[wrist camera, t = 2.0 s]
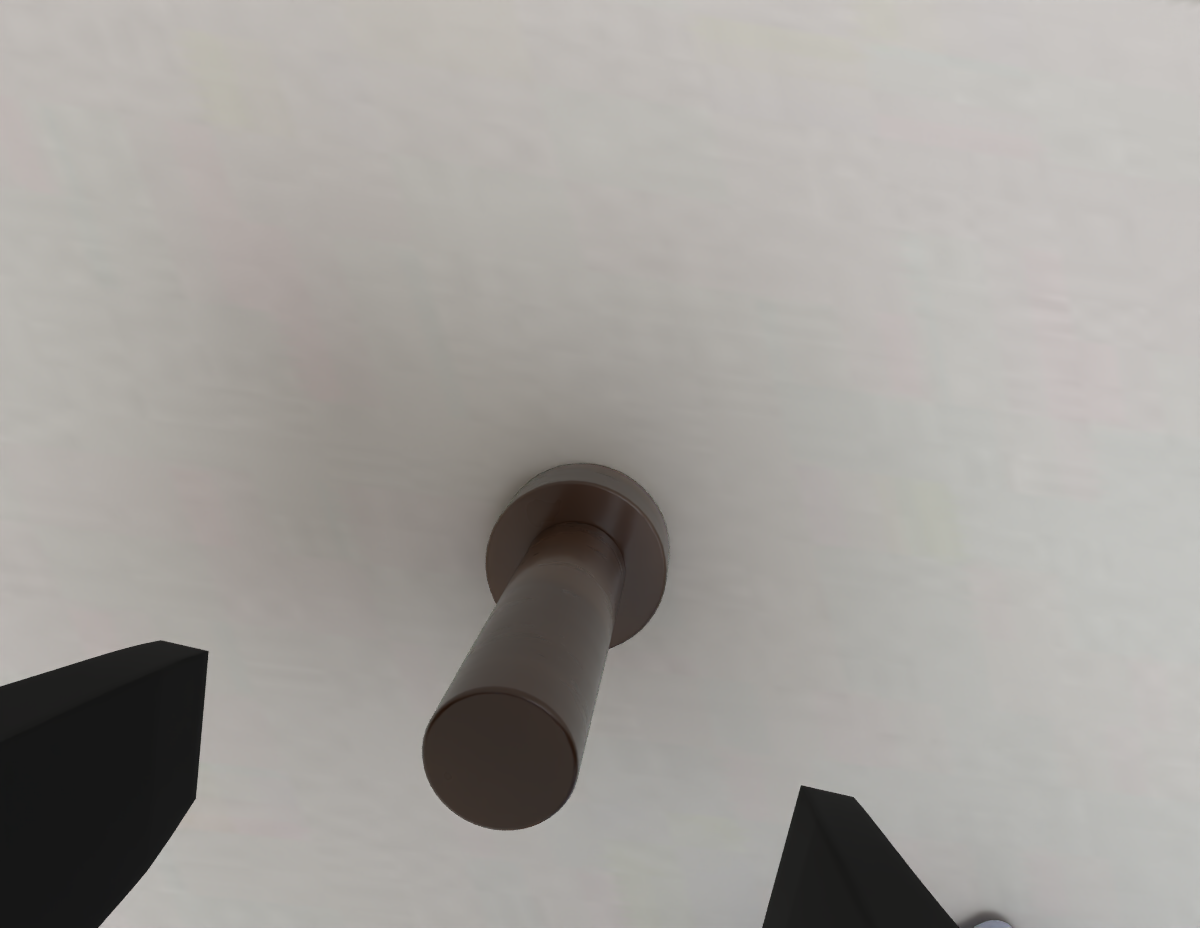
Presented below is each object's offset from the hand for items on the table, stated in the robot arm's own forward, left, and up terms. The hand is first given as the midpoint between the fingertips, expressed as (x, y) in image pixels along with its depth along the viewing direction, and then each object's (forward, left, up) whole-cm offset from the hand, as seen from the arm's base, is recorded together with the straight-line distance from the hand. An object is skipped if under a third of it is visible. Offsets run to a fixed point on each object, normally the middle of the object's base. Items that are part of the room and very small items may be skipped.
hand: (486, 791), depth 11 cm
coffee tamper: (0, 0, -9) cm, 9 cm away
